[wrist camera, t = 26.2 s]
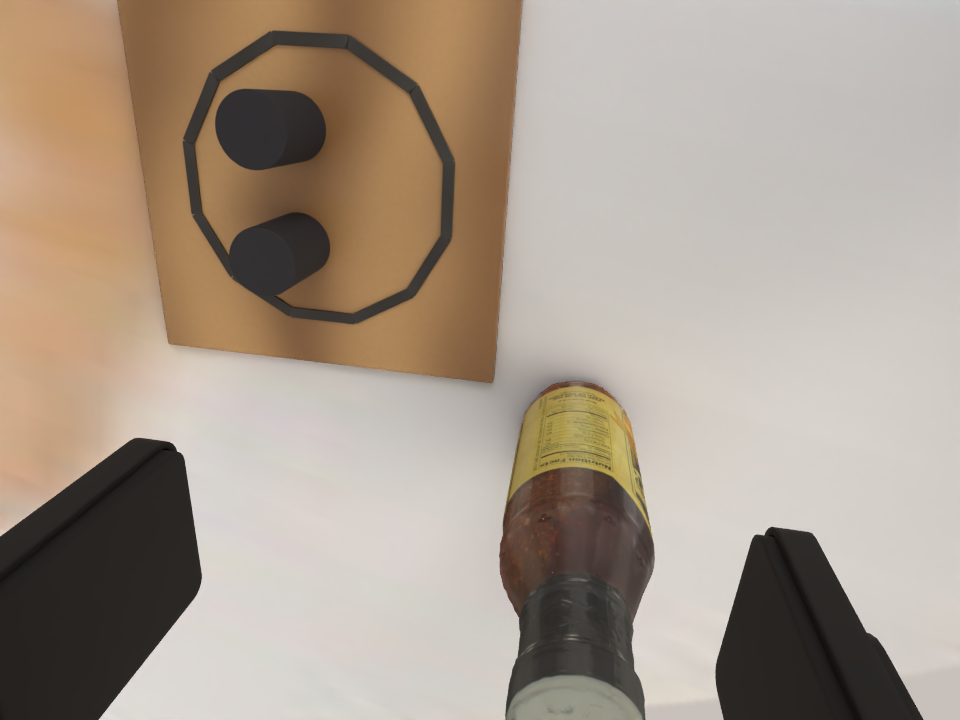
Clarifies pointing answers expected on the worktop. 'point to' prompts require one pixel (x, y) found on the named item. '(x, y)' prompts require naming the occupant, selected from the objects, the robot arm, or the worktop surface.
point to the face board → (335, 174)
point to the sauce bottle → (575, 558)
